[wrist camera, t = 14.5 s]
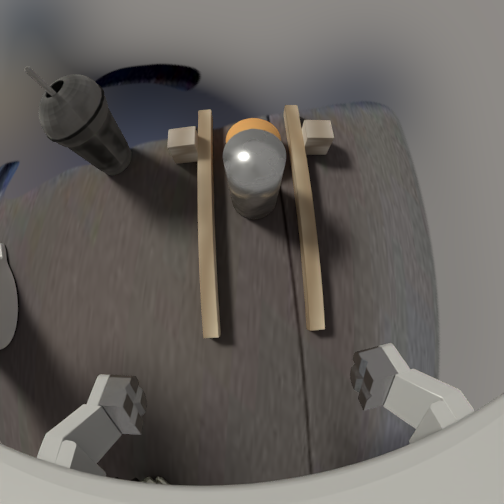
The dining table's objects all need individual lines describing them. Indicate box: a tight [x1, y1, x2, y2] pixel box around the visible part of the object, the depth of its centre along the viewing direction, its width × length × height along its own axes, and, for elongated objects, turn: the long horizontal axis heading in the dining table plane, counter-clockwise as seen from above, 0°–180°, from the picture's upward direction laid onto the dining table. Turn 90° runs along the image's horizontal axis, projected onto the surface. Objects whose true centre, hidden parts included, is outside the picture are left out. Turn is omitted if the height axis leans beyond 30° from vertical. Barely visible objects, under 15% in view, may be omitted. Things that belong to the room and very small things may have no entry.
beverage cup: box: [25, 66, 132, 175], centre depth 23 cm, size 7×7×20 cm
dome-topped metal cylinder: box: [223, 129, 286, 219], centre depth 27 cm, size 5×5×10 cm
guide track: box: [167, 105, 334, 338], centre depth 29 cm, size 18×26×4 cm
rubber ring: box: [226, 118, 281, 143], centre depth 31 cm, size 6×6×3 cm
